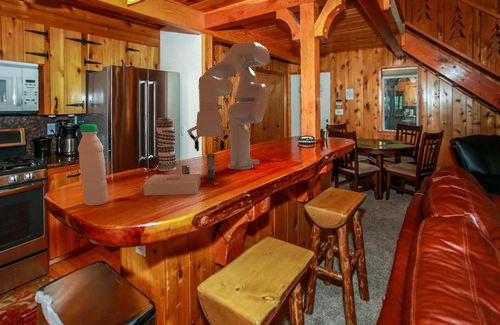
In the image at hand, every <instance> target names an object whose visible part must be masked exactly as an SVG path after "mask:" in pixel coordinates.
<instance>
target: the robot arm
mask: <svg viewBox="0 0 500 325" xmlns="http://www.w3.org/2000/svg"><path fill="white" fill-rule="evenodd" d="M270 58H271V56H270V52H269V50H268V48H267V47H265V46H263V45H262V44H260V43H258V42H255V41H247V42H239V43H238V42H237V43H235V44H233V45H231V47H230V48H229V50H228V51H227V53H226V55H225V56H224V58H223V59H222V60H221V61H220V62H218V63H216V64H214V65H212V66H211V67H210V68H209V69H207V70H206V71H204V73H203V75H201V76H200V77H199V78H198V102H199V103H198V106H199V107H198V109H199V110H198V111H197V114H196V125H194V126H193V127H192V128H189V129H188V130H187V134H188V135H189V137H190V139H192V141H193V142H194V149H195V150H196V152H199V151H200V145H199V144H200V141H199V138H201V137H203V138H205V137H206V138H209V137H210V138H213V137H218V138H219V139H220V142H219V143H220V145H219V146H220V147H219V148H220V150H219V151H220V152H223V150H224V149H225V140H227V139H228V137H229V135H230V163H229V164H227V168H228V169H231V170H237V171H238V170H239V171H240V170H250V169H253V168H254V164H255V165H259V164H260V159H252V158H251V147H250V146H251V144H250V143H251V142H250V141H251V135H250V134H251V132H250V129H249V127H248V126H247V124H260V123H261V122H262V121H263V119H264V116H265V112H266V107H267V103H268V97H269V91H268V87H267V86H266V85H265V84H264V83H257V80H258V79H257V75H256V74H255V71H253V70H252V68H255V67H265V66H267V65H268V64H269V62H270ZM237 74H239V81H238V85H237V89H236V92H235V100H236V101H237V102H236V103H232V104H230V105H229V106H228V108H227V117H228V121H229V122H228V123H229V128H227V127H225V126H224V125H223V121H222V113H221V111H219V110H220V109H221V110H222V109H223V105H221V104H219V97H227V96H229V95H230V94H231V93H232V92H233V87H234V86H233V82H232V81H231V80H230V79H229V78H232V77H235V76H236V75H237ZM194 131H196V132H195V133H196V135H194V134H193V132H194ZM224 131H225V132H226V134H224V136H223V132H224Z"/></svg>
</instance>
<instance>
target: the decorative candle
mask: <svg viewBox="0 0 500 325" xmlns="http://www.w3.org/2000/svg"><path fill="white" fill-rule="evenodd" d="M155 122H156V129H155V130H156V131H155V133H154V134H155V138H156V140H155V141H156V146H157V161H158V162H157V168H158V171H159V172H170V171H171V172H172V171H176V170H177V161H176V160H177V158H176V156H177V155H176V152H175V151H176V150H175V145H176V143H175V141H176V138H175V137H176V135H174V134H175V133H176V131H175V129H174V123H173V120H172V118H171V117H158V118H157V119H156V121H155Z"/></svg>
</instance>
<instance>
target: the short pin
mask: <svg viewBox="0 0 500 325" xmlns="http://www.w3.org/2000/svg"><path fill="white" fill-rule="evenodd" d="M190 172H191V171H190V165H188V164H183V165H181V174H191V173H190Z"/></svg>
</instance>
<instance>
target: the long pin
mask: <svg viewBox="0 0 500 325" xmlns="http://www.w3.org/2000/svg"><path fill="white" fill-rule="evenodd" d="M215 160H216V157H215V153H212V152H211V153H206V169H207V170H206V172H207V173H206V174H207V176H206V178H207V181H208V182H214V180H215V181H216V161H215Z"/></svg>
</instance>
